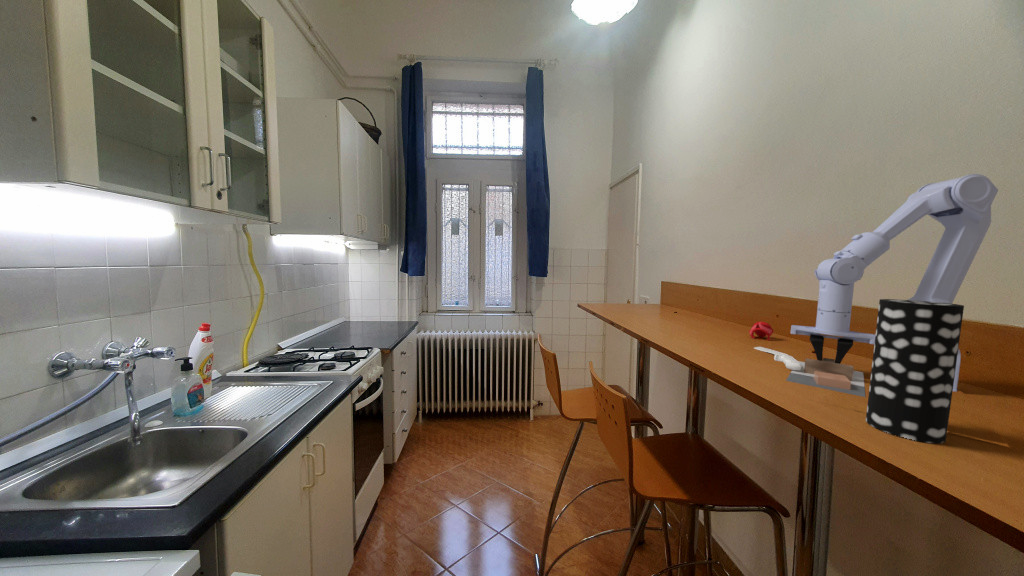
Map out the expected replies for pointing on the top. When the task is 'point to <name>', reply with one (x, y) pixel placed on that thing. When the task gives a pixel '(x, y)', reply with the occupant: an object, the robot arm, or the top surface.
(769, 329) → the red openwork dome
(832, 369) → the pusher
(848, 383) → the tile
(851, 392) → the board
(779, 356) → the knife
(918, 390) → the spotted tube
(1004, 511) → the top surface
